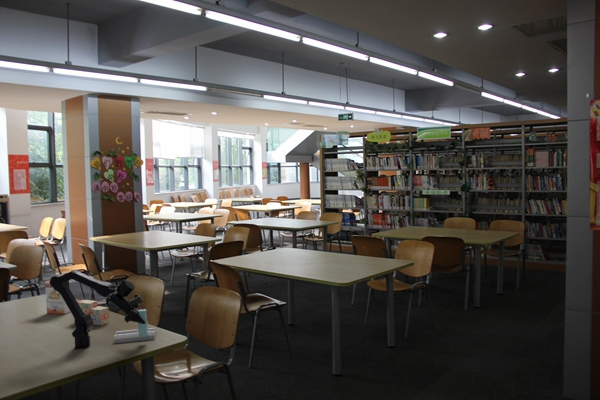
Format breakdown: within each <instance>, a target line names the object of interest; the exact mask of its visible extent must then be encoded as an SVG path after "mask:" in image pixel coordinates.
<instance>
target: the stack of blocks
mask: <svg viewBox="0 0 600 400" xmlns="http://www.w3.org/2000/svg"><path fill="white" fill-rule="evenodd" d="M76 301H77V302H78V304H79V306H80V307H81V309H82V311H83V312H84V313H85V314H86V315H87V314H90V315H91V318H92V319H93V323H94V324H93V326H94V325H95V326H104V325H106V324H110V318H109V307H108V306H101V305H99V304H98V303H99V302H98V301H97V300H89V299H82V300H76Z"/></svg>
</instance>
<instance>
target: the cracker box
mask: <svg viewBox="0 0 600 400" xmlns="http://www.w3.org/2000/svg"><path fill="white" fill-rule="evenodd" d="M44 287H45V301H46V302H45V304H46V313H47V314H54V315H56V314H57V315H66V314H69V313H71V311H70V310H69V308H68V306H67V305H66V303H65V301H64V299H63V298H62V296H61V294H60V293H59V292H57V291H56V290H54V289H53V287H52V286H51V285H50V279H49V280H46V281H45V282H44Z"/></svg>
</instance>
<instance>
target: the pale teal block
mask: <svg viewBox="0 0 600 400" xmlns="http://www.w3.org/2000/svg"><path fill="white" fill-rule="evenodd" d="M138 311H139V315H140V316H141V318H142V319H143V320H144V321H145V322H146V323H145V324H141V323H137V329H138V333H139V337H143V336H147V328H148V324H149V321H148V319H147V318H148V317H147V309H146V308H144V309H140V310H138Z"/></svg>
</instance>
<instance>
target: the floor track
mask: <svg viewBox="0 0 600 400" xmlns="http://www.w3.org/2000/svg"><path fill="white" fill-rule="evenodd" d="M156 329H157V328H156V327H147V336H143V337H139V333H138V328H137V329H127V330H118V331H115V334H114V335H113V344H114V345H116V344H126V343H132V342H133V343H135V342H143V341H144V342H145V341H154V340H155V338H156V335H157V330H156Z"/></svg>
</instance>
